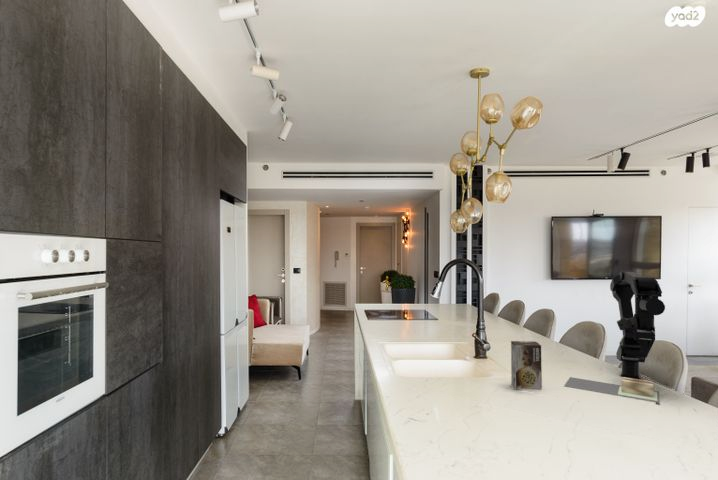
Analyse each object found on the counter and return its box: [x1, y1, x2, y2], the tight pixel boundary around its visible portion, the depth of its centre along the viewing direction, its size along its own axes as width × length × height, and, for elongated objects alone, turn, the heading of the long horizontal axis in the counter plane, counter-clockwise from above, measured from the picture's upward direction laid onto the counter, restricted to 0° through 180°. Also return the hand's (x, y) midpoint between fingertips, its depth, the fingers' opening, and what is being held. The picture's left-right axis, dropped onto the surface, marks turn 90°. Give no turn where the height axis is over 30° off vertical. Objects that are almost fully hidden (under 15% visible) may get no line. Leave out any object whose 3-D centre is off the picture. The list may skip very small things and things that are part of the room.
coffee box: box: [510, 340, 543, 391], centre depth 152 cm, size 9×6×16 cm
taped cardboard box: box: [621, 377, 654, 398], centre depth 145 cm, size 9×5×4 cm, turn 55°
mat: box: [563, 376, 660, 406], centre depth 150 cm, size 14×28×1 cm, turn 55°
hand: (644, 355), depth 152 cm, fingers open, 9 cm apart
